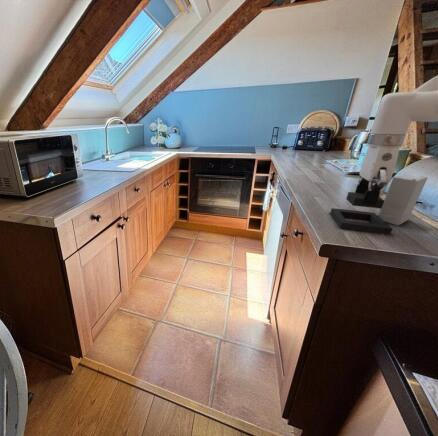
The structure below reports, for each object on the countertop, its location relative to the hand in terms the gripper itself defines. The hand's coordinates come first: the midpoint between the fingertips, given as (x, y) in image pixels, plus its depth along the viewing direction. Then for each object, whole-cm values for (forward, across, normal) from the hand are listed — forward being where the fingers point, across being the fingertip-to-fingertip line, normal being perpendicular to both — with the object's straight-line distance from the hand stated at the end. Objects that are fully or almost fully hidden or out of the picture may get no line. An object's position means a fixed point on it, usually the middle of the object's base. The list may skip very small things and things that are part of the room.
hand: (364, 199), depth 76 cm
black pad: (+1, 0, 0) cm, 1 cm away
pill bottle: (+8, +26, -10) cm, 29 cm away
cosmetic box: (+8, +7, -12) cm, 16 cm away
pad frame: (+8, 0, 0) cm, 8 cm away
